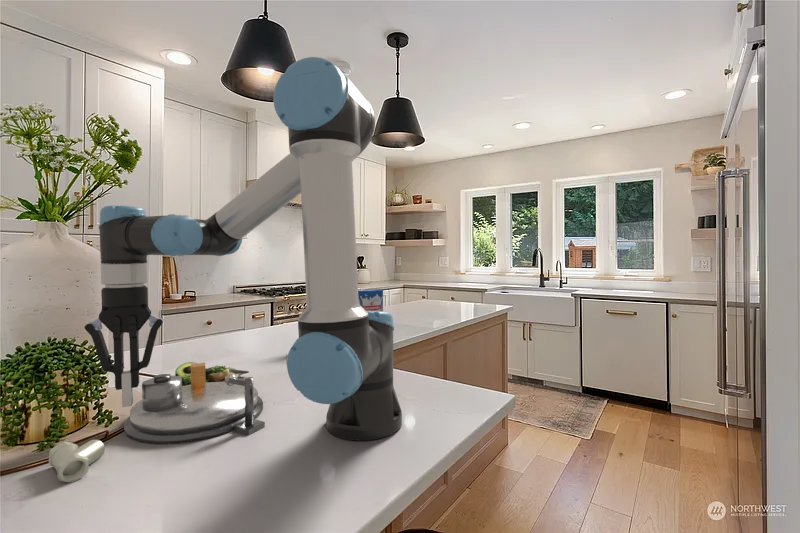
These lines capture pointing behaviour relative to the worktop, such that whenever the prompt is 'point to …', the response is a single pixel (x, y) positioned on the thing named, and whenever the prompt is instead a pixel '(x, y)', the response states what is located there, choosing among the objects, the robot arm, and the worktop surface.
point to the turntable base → (185, 437)
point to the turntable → (195, 407)
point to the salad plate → (207, 373)
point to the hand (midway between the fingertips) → (127, 404)
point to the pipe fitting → (74, 459)
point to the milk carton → (371, 299)
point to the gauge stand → (246, 405)
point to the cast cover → (161, 393)
